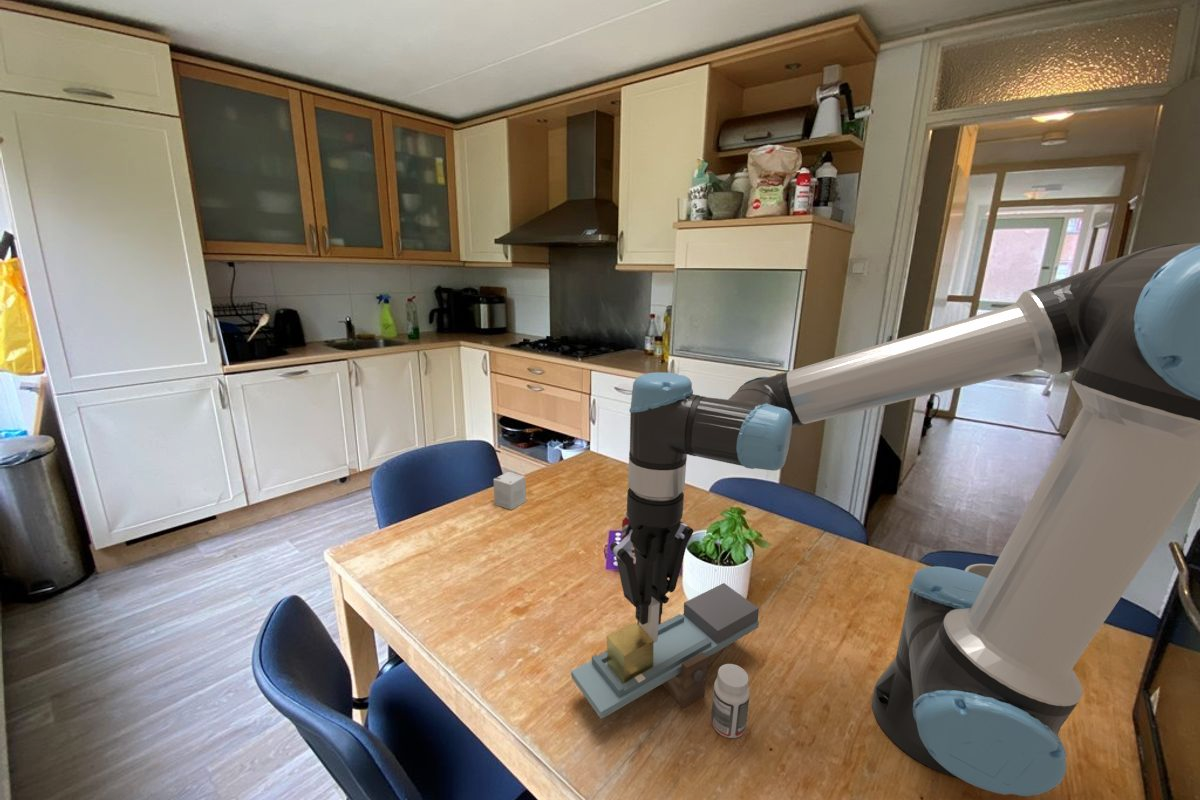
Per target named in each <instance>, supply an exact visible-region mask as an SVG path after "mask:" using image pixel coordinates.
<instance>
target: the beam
mask: <svg viewBox="0 0 1200 800" xmlns="http://www.w3.org/2000/svg"><path fill="white" fill-rule="evenodd" d="M759 610H760V609H759V607H758V606H757V605H755V604H754V603H753V602H751V601H749V599H747V598H745V597H744V596H742V594H740V593H739V592H738V591H736V590H734V589H733V588H732V587H730V586H729V585H728V584H726V583H724V582H723V583H721V584H719V585H717V586H715V587H713V588H711V589H709V590H707V591H704V592H703V593H701V594H699V595H696V596H694V597H693V598H691V599H688V600H686V601H685V602H683V613H682V614H681V613H679V614H677V615H675V616H673V617H670V618H669V619H667V620H665V621H663V622H661V624H659V625H658V639H657V642H655V643H654V645H653V668H651V669H649V670H648V671H646V672H644V673H642V674H640V675H638V676H636V677H634V678H633V679H631V680H630V681H628V682H626V683H624V684H623V683H622V681H621V680H620V679H619V678H618V677H617V675H616V674H615V673H614V672H613V670H612V669H611V668H610V667H609V666H608V664H607V650H606V651H604V652H602V653H598V655H597V654H595V655H592V656H591V660H590V661H588V662H585V663H584V664H582V665H579V666H578V667H575V668H574V669H572V670H571V671H570V676H571V679H572V680H573V682H574V683H575V684H576V686H577V688H578V689H579V690H580V692H581V693H582V694H583V696H584V698H585V699H586V700H587V702H588V703H589V705H590V706H591V707H592V709H593V710H594V711H595V713H596V714H597V715H598V716H597V717H598V718H599V719H600V720H603V719H604V718H606V717H608V716H609V715H611V714H613V713H615V712H616V711H618V710H620V709H621V708H623V707H625V706H626V705H629V704H630V703H631V702H633V701H635V700H636V699H639V698H641V697H642V696H644V695H645V694H647V693H649V692H651V691H652V690H654V689H656V688H657V687H659V686H661V685H662V684H663V683H664V682H666V681H668V680H669V679H671V678H673V677H675V676H676V675H678V674H680V673H681V670H682V663H683V662H685V661H687V660H689V659H691V658H693V657H695V656H697V655H699V654H701V653H704V654H705V655H706V656H708V658H709V657H711V656H712V655H714V654H716V653H718V652H719V651H721V650H723V649H725V648H726V647H728V646H729V645H731V644H733V643H735V642H736V641H738V640H739V639H741V638H743V637H744V636H746V635H748V634H750V633H751V632H753V631H755V630H757V629H758V628H759V622H760V621H759V612H760V611H759Z"/></svg>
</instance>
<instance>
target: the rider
mask: <svg viewBox="0 0 1200 800" xmlns="http://www.w3.org/2000/svg"><path fill="white" fill-rule="evenodd" d="M653 645H654V641H653V640H652V639H651V638H650V637H649V636H648V634H647V633H646V632H645V631H644V630H643V629H642V628H641V627H640V626H639V625H638V624H637V622H632V623H630V624H627V625H626V626H624V627H621V628H620V629H617V630H616V631H613V632H612V633H609V634H606V651H607V664H608V666H609V667H610V668H611V669H612V670H613V672H614V673H615V674H616V675H617V677H618V678H619V679H620V680H621V681H622V683H623V684H624V683H626V682H628V681H630V680H631V679H633V678H634V677H636V676H638V675H640V674H642V673H644V672H646V671H648V670H649V669H651V668H653Z"/></svg>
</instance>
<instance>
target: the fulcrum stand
mask: <svg viewBox="0 0 1200 800" xmlns="http://www.w3.org/2000/svg"><path fill="white" fill-rule="evenodd" d="M636 623H637V624H638V625H639V621H638V620H637V622H636ZM661 623H662V616H661V617H659V623H658V625H659V624H661ZM708 659H709V657H708V656H706V655H705V654H704V653H701V654H699V655H697V656H695V657H693V658H691V659H689V660H687V661H685V662H683V663H682V670H681V673H680V674H678V675H676V676H675V677H673V678H671V679H669V680H668V681H666V682H664V683H663V684H661V685H662V686H663V687H664V688H665V690H666V691H667V692H668V693H669V694H670V696H672V697H673V699H675V700H676V702H677V703H678V704H679V705H680V706H681V707H682V708H683V709H685V708H687V707H688V706H690V705H691V704H693V703H695V702H697V701H698V700H700V699H701V698H703V697H704V696H705V690H706V681H707V671H708V670H707V668H708V661H709V660H708Z"/></svg>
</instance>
